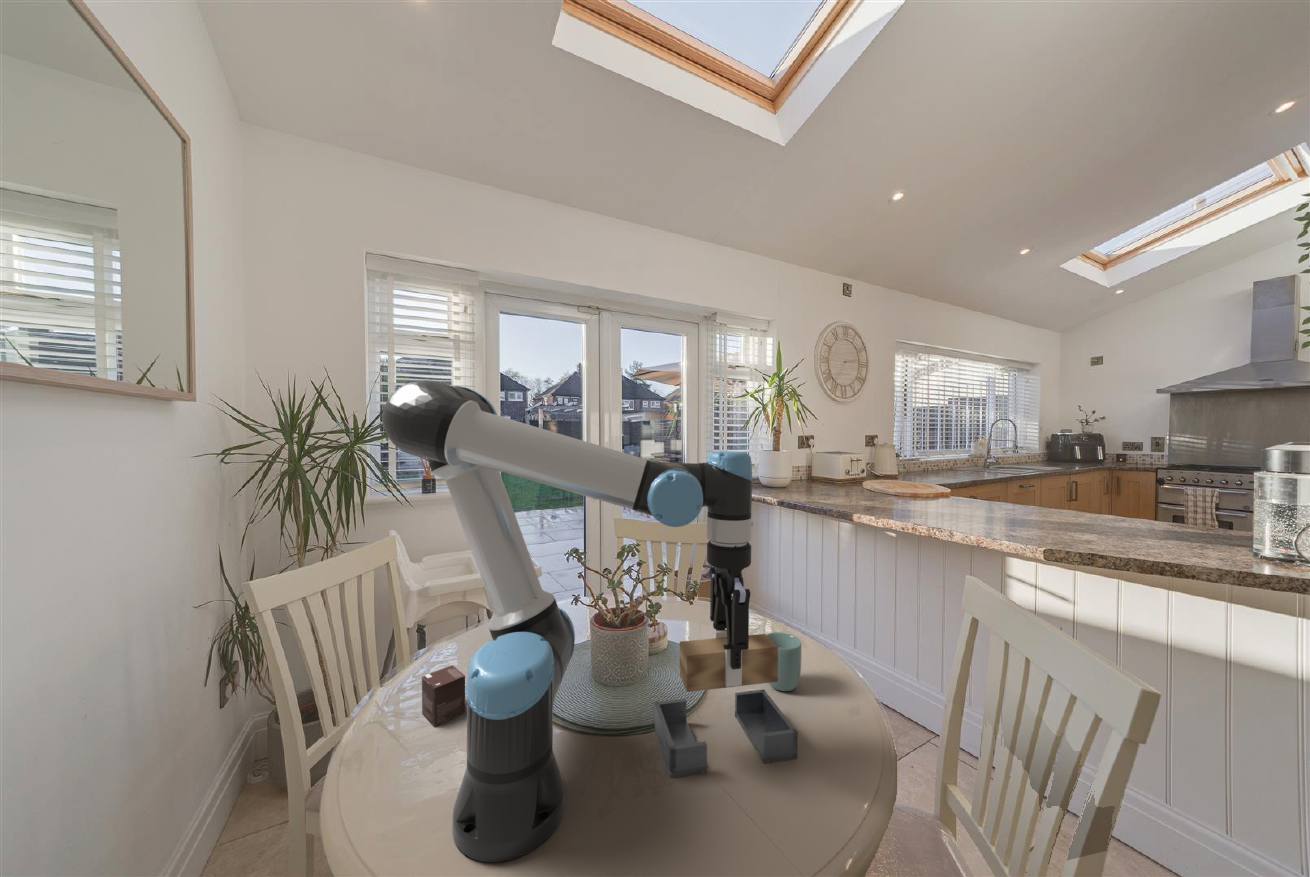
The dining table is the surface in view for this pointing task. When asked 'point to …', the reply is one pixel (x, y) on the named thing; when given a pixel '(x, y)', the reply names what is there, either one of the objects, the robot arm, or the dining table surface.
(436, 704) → the box
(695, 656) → the wooden block
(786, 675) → the cup
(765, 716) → the bracket right
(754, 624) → the dining table surface
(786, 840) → the dining table surface
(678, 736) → the bracket left
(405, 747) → the dining table surface
